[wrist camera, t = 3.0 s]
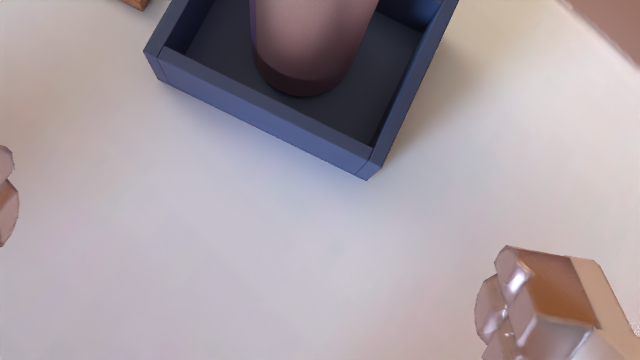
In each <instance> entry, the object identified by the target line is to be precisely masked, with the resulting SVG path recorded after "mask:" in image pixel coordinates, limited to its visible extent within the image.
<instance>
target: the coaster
mask: <svg viewBox="0 0 640 360" xmlns="http://www.w3.org/2000/svg"><path fill="white" fill-rule="evenodd" d="M121 1H123V2H125V3H127V4H129V5H131V6H133V7H135V8H137V9H139V10H141V11H143V10H144V8H145V7H146V5H147V3H148V1H149V0H121Z"/></svg>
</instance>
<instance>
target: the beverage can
mask: <svg viewBox="0 0 640 360" xmlns="http://www.w3.org/2000/svg"><path fill="white" fill-rule="evenodd" d="M378 1H379V0H249V2H250V24H251V46H252V55H253V60H254V62H255V65H256V67H257V69H258V71H259V72H260V74H261V75H262V77H263V78H264V79H265V80H266V81H267V82H268V83H269V84H270V85H272V86H273V87H274V88H276V89H278V90H279V91H281V92H284V93H286V94H289V95H294V96H302V97H307V96H315V95H319V94H322V93H324V92H327V91H329V90H330V89H332V88H333V87H335V86H336V85H337V84H338V83H339V82H340V81H341V80H342V79H343V78H344V77H345V75H346V74H347V72H348V70H349V68H350V66H351V63H352V61H353V59H354V56H355V54H356V52H357V50H358V47H359V45H360V43H361V40H362V38H363V36H364V33H365V31H366V29H367V26H368V24H369V22H370V20H371V17H372V15H373V13H374V10H375V8H376V6H377V3H378Z"/></svg>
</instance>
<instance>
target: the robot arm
mask: <svg viewBox="0 0 640 360" xmlns="http://www.w3.org/2000/svg"><path fill="white" fill-rule="evenodd" d="M14 170H15V166H14V161H13V155H12V152H11V151H10V150H9V149H8V148H7V147H5V146H2V145H0V247H2V246H3V245H4V244H5V242H6V241H7V240H8V238H9V237H10V235H11V234H12V232H13V229H14V227H15V224H16V221H17V219H18V213H19V196H18V191H17V190H16V188H15V187H14V186H13V185H12V184H11V183H10V181H9V180H8V179H7V178H8V176H9V175H10V174H11V173H12V172H13V171H14ZM494 264H495V268H496V271H497V274H495V275H493V276H492V277H490V278H488V279H486V280H485V281H484V282H483V284H482V286H481V288H480V291H479V293H478V295H477V300H476V305H475V325H476V331H477V335H478V336H479V337H480V338H481V339H482V340H483V341H484V342H485V343H486V345H487V348H486V350H485V352H484V353H483V355H482V359H483V360H640V337H637V336H635V334H634V332H633V330H632V328H631V326H630V324H629V322H628V320H627V318H626V316H625V314H624V312H623V310H622V308H621V306H620V304H619V302H618V300H617V298H616V296H615V294H614V292H613V290H612V288H611V286H610V284H609V282H608V281H607V279H606V277H605V275H604V273H603V271H602V269H601V267H600V265H598V264H597V263H596V262H595V261H594V260H588V259H583V258H577V257H571V256H560V255H554V254H549V253H544V252H539V251H534V250H528V249H523V248H518V247H513V246H508V245H506V246H505V247H504V248H503V249H502V250H501V251H500V252H499V254H498V256H497V258H496V259H495V261H494Z"/></svg>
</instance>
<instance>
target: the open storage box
mask: <svg viewBox="0 0 640 360" xmlns="http://www.w3.org/2000/svg"><path fill="white" fill-rule="evenodd" d="M458 2H459V0H379V1H378V3H377V6H376V8H375V10H374V13H373V15H372V17H371V20H370V22H369V24H368V26H367V29H366V31H365V33H364V36H363V38H362V40H361V43H360V45H359V47H358V50H357V52H356V54H355V56H354V59H353V61H352V63H351V66H350V68H349V70H348V72H347V74H346V75H345V77H344V78H343V79H342V80H341V81H340V82H339V83H338V84H337V85H336V86H335V87H333V88H332V89H330V90H329V91H327V92H324V93H322V94H319V95H315V96H307V97H302V96H294V95H289V94H286V93H284V92H281V91H279V90H278V89H276V88H274V87H273V86H272V85H270V84H269V83H268V82H267V81H266V80H265V79H264V78H263V77H262V75H261V74H260V72H259V71H258V69H257V67H256V65H255V62H254V60H253V55H252V46H251V24H250V2H249V0H172V1H171V3H170V5H169V6H168V8H167V10H166V12H165V13H164V15H163V17H162V18H161V20H160V22H159V24H158V25H157V27H156V29H155V31H154V32H153V34H152V36H151V38H150V39H149V41H148V43H147V45H146V46H145V48H144V50H143V52H144V54H145V56H146V58H147V60H148V62H149V64H150V65H151V67H152V69H153V71H154V73H155V75H156V76H157V79H159V80H161V81H163V82H165V83H167V84H169V85H171V86H173V87H175V88H177V89H179V90H181V91H183V92H185V93H187V94H189V95H191V96H193V97H195V98H197V99H199V100H202V101H204V102H206V103H208V104H210V105H212V106H214V107H216V108H218V109H220V110H222V111H224V112H226V113H228V114H230V115H232V116H234V117H236V118H238V119H240V120H242V121H244V122H247V123H249V124H251V125H253V126H255V127H257V128H259V129H261V130H263V131H265V132H267V133H269V134H271V135H273V136H275V137H277V138H279V139H281V140H283V141H285V142H287V143H289V144H292V145H294V146H296V147H298V148H300V149H302V150H304V151H306V152H308V153H310V154H312V155H314V156H316V157H318V158H320V159H322V160H324V161H326V162H328V163H330V164H332V165H334V166H337V167H339V168H341V169H343V170H345V171H347V172H349V173H351V174H353V175H355V176H357V177H359V178H361V179H363V180H365V181H367V180H368V179H369V178H370V177H371V176H372V175H373V174H375V173H376V172H377V171H378V170H379V169H381V168H382V166H383V164H384V162H385V160H386V158H387V155H388V153H389V151H390V149H391V147H392V145H393V142H394V140H395V138H396V136H397V134H398V132H399V129H400V127H401V125H402V123H403V121H404V119H405V116H406V114H407V112H408V110H409V108H410V106H411V103H412V101H413V99H414V97H415V95H416V93H417V90H418V88H419V86H420V84H421V82H422V80H423V77H424V75H425V73H426V71H427V69H428V67H429V64H430V62H431V60H432V58H433V56H434V54H435V51H436V49H437V47H438V45H439V43H440V41H441V38H442V36H443V34H444V32H445V30H446V28H447V25H448V23H449V21H450V19H451V17H452V15H453V12H454V10H455V8H456V6H457V4H458Z"/></svg>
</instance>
